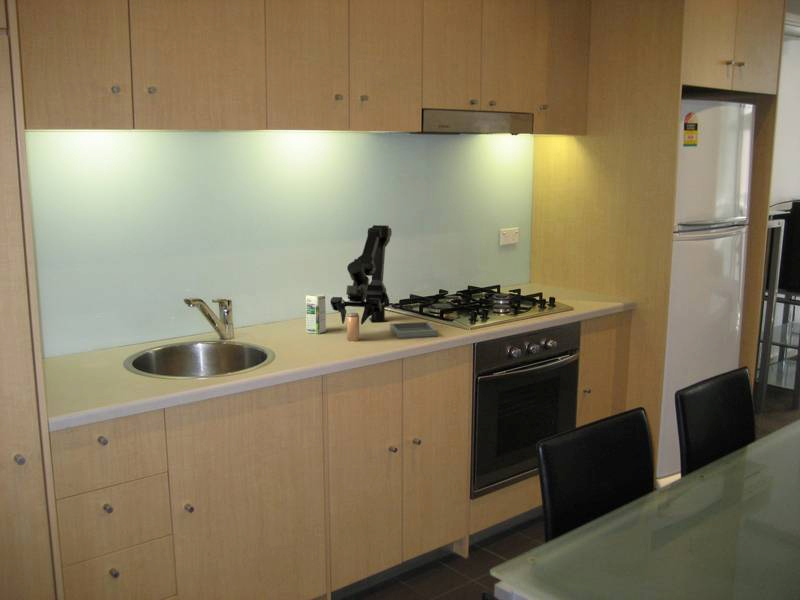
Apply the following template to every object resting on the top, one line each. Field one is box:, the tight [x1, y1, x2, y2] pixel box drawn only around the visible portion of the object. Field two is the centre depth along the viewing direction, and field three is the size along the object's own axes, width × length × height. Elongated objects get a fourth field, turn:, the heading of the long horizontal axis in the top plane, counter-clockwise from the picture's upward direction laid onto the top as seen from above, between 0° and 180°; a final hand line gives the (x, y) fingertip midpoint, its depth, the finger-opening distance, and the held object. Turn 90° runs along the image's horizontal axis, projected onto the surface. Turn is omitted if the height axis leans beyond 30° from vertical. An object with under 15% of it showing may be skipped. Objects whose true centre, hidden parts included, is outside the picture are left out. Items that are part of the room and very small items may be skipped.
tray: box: [389, 321, 438, 340], centre depth 304 cm, size 15×15×2 cm
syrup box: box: [305, 294, 327, 335], centre depth 306 cm, size 6×6×14 cm
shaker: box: [346, 312, 360, 342], centre depth 294 cm, size 4×4×10 cm
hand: (352, 323), depth 292 cm, fingers open, 7 cm apart
